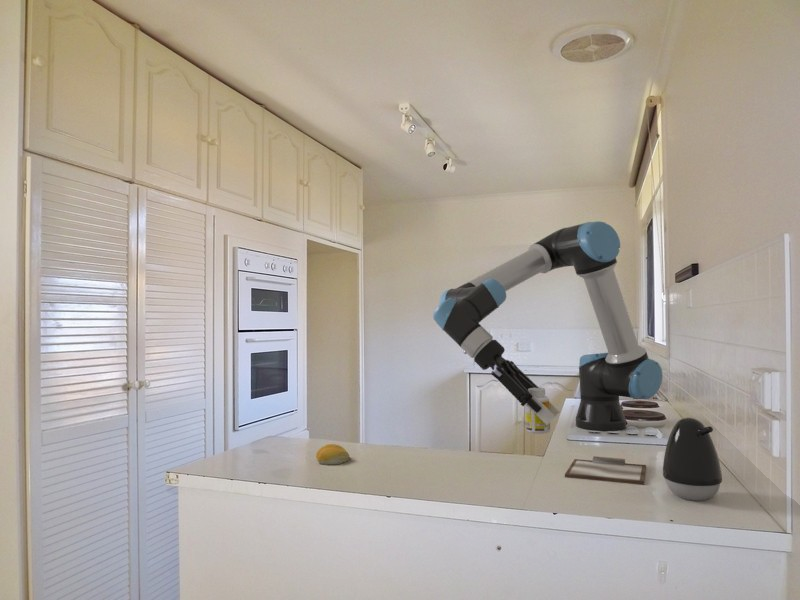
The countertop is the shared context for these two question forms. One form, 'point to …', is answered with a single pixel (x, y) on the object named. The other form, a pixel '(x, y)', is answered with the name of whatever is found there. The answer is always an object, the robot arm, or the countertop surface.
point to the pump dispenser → (692, 461)
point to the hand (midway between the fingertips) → (553, 418)
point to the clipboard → (607, 470)
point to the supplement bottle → (532, 419)
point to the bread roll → (332, 454)
